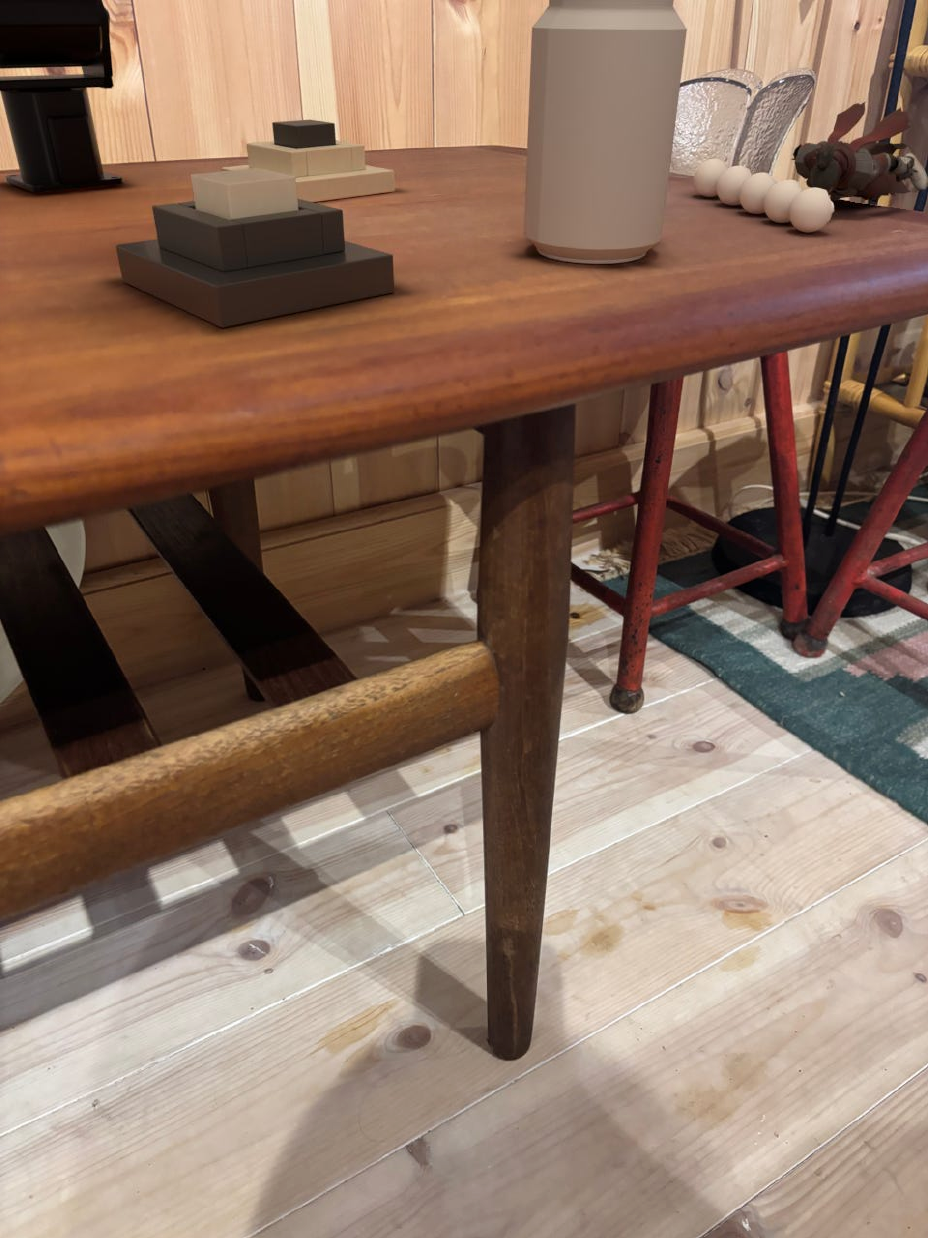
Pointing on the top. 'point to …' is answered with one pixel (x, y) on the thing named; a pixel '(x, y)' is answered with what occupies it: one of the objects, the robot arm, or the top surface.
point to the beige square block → (244, 193)
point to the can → (601, 127)
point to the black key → (304, 134)
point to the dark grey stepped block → (253, 263)
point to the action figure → (860, 160)
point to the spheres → (765, 195)
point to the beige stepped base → (322, 169)
